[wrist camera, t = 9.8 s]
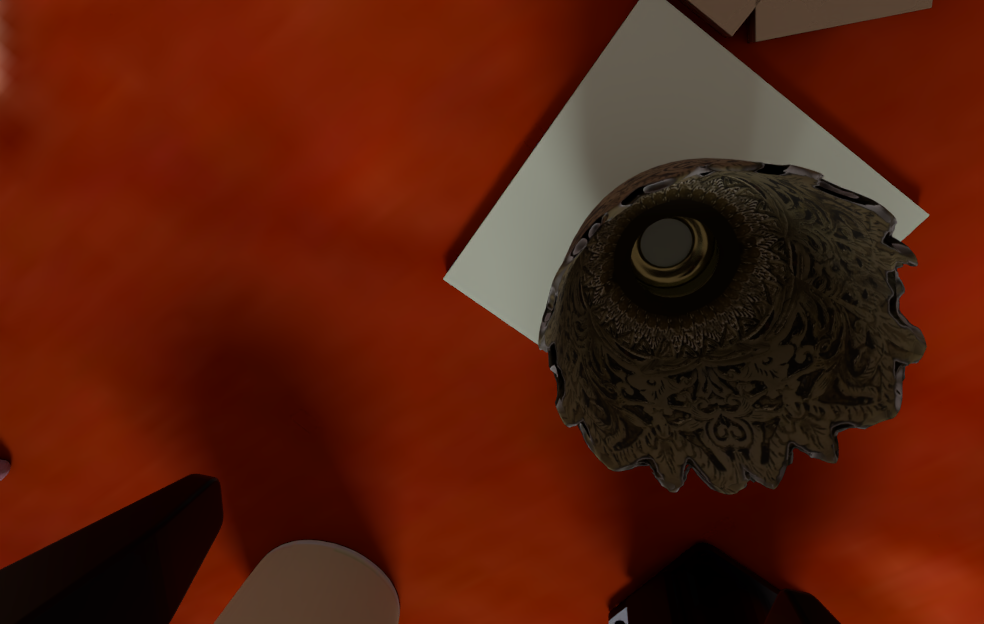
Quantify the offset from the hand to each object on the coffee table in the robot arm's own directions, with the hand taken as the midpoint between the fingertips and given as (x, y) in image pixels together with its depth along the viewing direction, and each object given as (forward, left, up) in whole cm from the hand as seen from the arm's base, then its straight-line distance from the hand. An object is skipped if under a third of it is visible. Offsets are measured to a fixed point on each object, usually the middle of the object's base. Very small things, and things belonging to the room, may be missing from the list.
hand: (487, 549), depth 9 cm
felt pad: (-3, -4, -12) cm, 13 cm away
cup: (-3, -4, -12) cm, 13 cm away
